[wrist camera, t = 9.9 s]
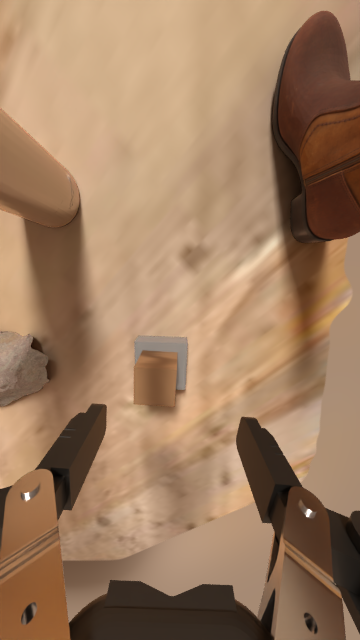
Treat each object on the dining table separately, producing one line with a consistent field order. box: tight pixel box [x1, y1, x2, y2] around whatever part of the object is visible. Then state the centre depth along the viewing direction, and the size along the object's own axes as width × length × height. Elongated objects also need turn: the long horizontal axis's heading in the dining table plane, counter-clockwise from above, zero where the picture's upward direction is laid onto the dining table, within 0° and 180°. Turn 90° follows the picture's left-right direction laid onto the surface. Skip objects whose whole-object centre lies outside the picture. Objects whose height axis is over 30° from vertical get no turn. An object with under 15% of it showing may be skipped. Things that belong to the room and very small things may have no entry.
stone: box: [0, 331, 50, 406], centre depth 33 cm, size 15×8×15 cm
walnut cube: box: [134, 350, 178, 407], centre depth 29 cm, size 6×6×6 cm
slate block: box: [135, 336, 188, 390], centre depth 34 cm, size 9×9×4 cm
